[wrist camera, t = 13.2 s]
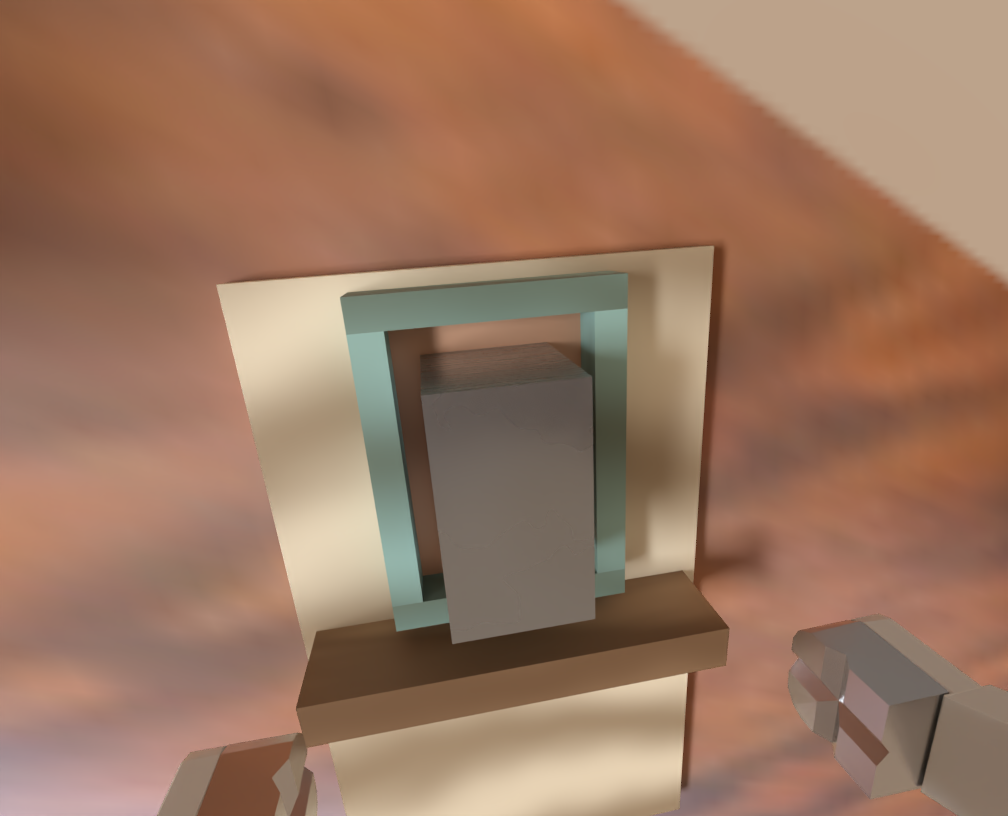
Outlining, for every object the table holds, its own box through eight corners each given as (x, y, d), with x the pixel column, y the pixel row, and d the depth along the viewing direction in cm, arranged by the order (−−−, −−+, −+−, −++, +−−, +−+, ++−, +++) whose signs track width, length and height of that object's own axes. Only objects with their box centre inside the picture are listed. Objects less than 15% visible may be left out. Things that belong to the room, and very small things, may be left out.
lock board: (671, 791, 25) (716, 888, 21) (364, 861, 23) (353, 981, 19) (701, 245, 17) (782, 246, 13) (226, 282, 15) (161, 295, 11)
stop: (546, 341, 16) (592, 376, 12) (554, 532, 18) (595, 618, 14) (420, 354, 16) (420, 395, 11) (444, 549, 18) (452, 643, 14)
